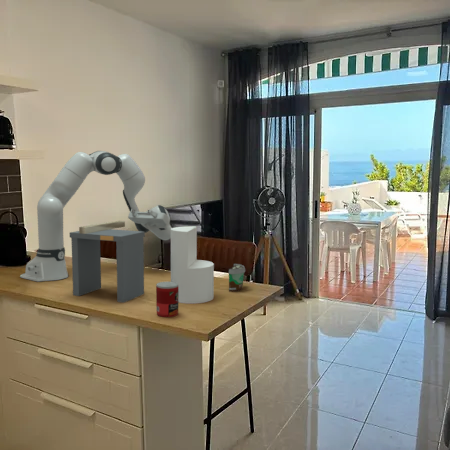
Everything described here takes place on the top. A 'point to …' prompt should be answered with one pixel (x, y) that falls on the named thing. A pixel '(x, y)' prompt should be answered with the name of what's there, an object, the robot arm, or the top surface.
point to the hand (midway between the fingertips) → (140, 210)
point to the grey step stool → (91, 262)
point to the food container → (236, 278)
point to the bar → (101, 227)
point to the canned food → (167, 299)
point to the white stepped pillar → (190, 267)
